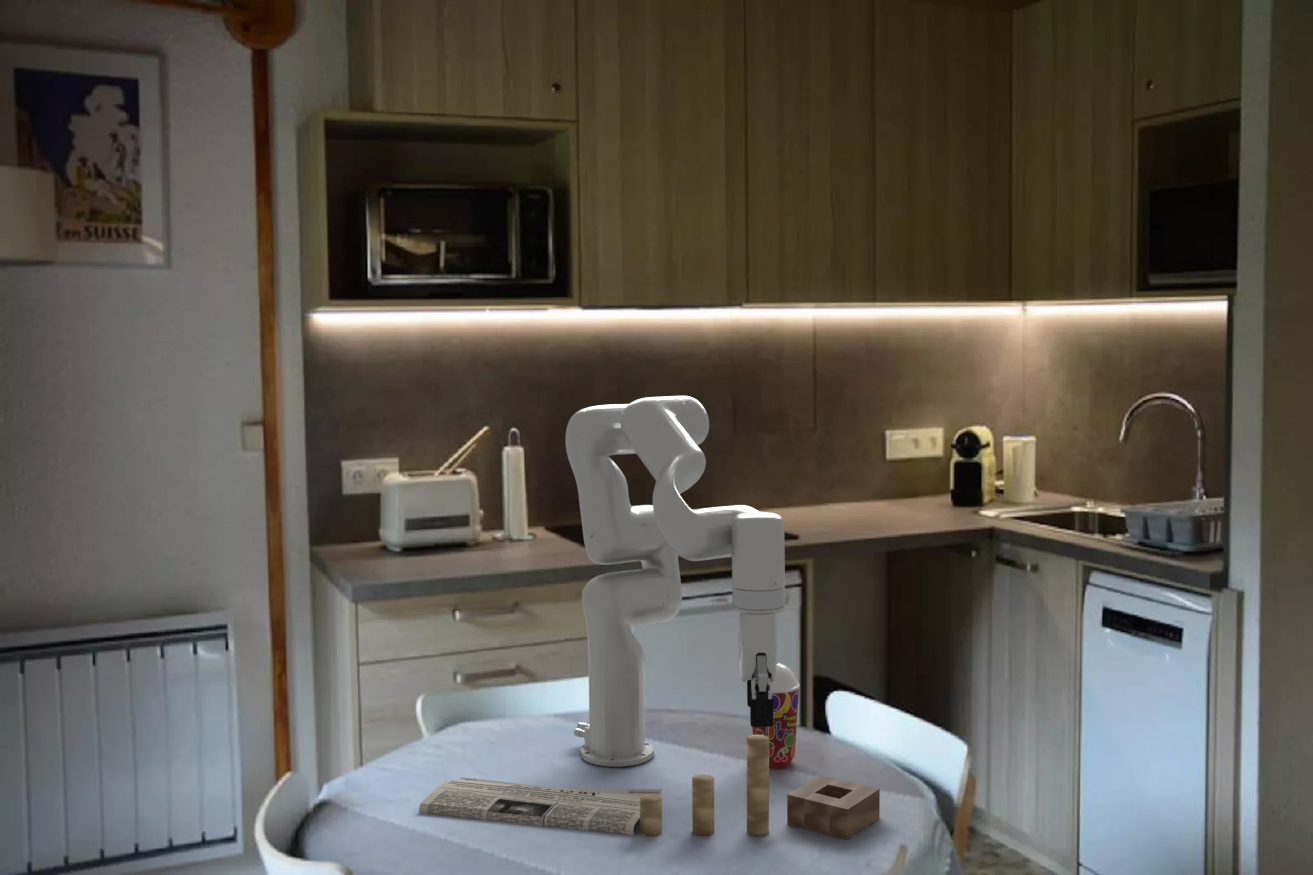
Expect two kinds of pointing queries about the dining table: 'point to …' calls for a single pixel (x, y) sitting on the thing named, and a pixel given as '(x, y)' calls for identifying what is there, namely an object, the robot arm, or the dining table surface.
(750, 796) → the long dowel
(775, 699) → the smoothie
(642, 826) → the short dowel
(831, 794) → the collar
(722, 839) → the dining table surface
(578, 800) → the newspaper
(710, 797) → the medium dowel
